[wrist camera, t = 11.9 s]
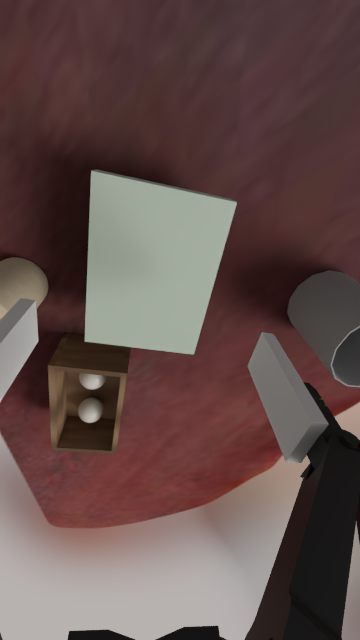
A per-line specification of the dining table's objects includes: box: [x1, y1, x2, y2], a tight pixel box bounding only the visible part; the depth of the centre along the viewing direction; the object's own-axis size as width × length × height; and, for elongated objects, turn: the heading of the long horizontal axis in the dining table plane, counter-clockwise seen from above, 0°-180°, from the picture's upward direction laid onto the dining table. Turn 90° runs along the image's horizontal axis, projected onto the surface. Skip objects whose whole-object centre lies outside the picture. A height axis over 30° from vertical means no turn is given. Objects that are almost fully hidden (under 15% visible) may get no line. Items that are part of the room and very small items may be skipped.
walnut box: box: [48, 333, 131, 454], centre depth 35 cm, size 14×8×6 cm, turn 169°
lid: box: [85, 169, 237, 355], centre depth 25 cm, size 15×11×2 cm
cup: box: [287, 270, 360, 387], centre depth 30 cm, size 8×8×10 cm
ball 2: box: [78, 397, 104, 423], centre depth 37 cm, size 3×3×3 cm
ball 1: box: [79, 373, 107, 390], centre depth 34 cm, size 3×3×3 cm
